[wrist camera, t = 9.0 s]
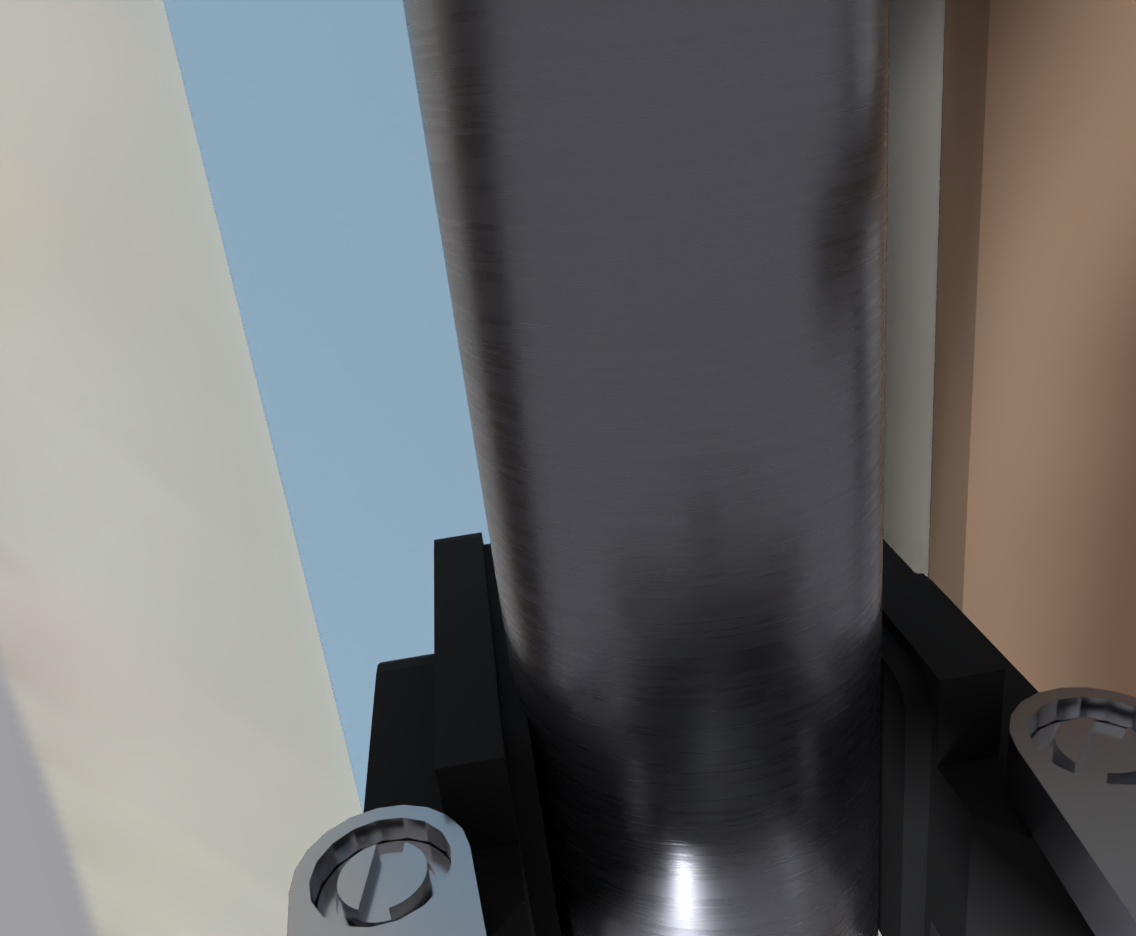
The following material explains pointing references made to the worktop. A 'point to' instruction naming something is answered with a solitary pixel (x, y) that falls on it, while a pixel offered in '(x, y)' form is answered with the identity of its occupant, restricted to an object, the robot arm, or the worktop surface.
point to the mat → (340, 310)
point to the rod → (679, 434)
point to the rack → (1039, 336)
